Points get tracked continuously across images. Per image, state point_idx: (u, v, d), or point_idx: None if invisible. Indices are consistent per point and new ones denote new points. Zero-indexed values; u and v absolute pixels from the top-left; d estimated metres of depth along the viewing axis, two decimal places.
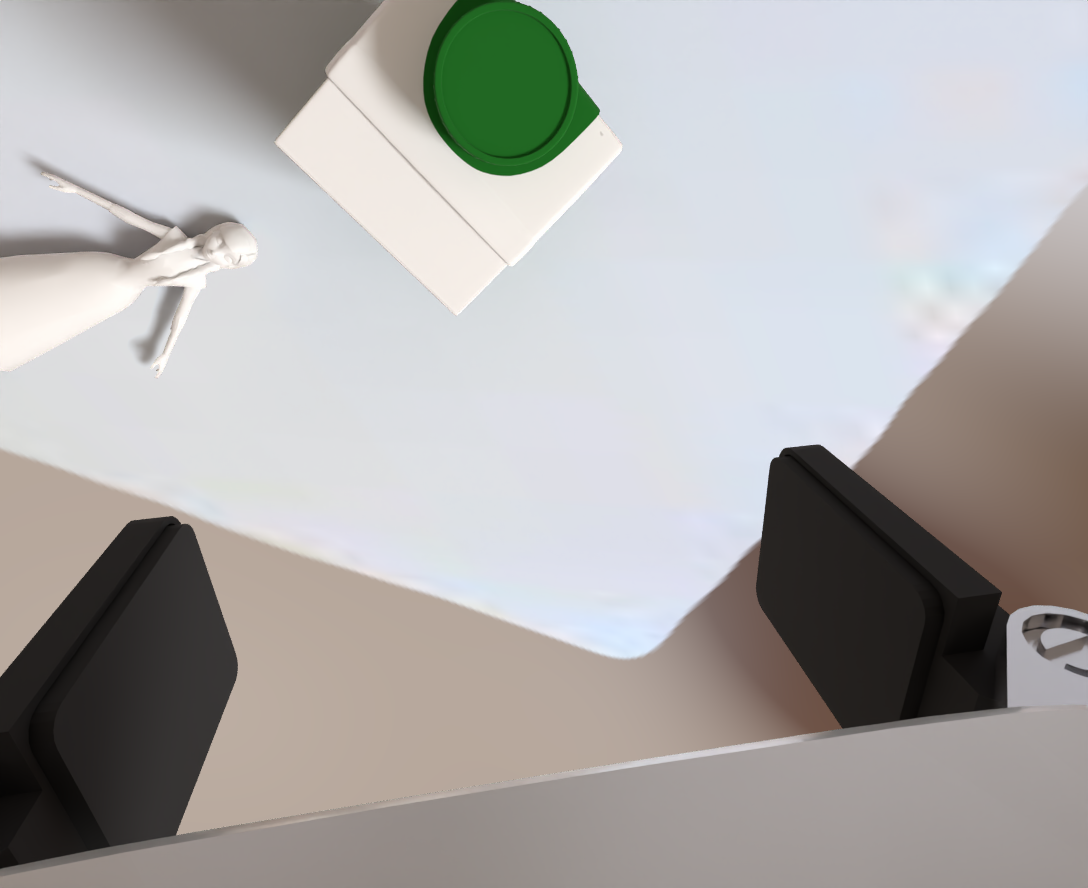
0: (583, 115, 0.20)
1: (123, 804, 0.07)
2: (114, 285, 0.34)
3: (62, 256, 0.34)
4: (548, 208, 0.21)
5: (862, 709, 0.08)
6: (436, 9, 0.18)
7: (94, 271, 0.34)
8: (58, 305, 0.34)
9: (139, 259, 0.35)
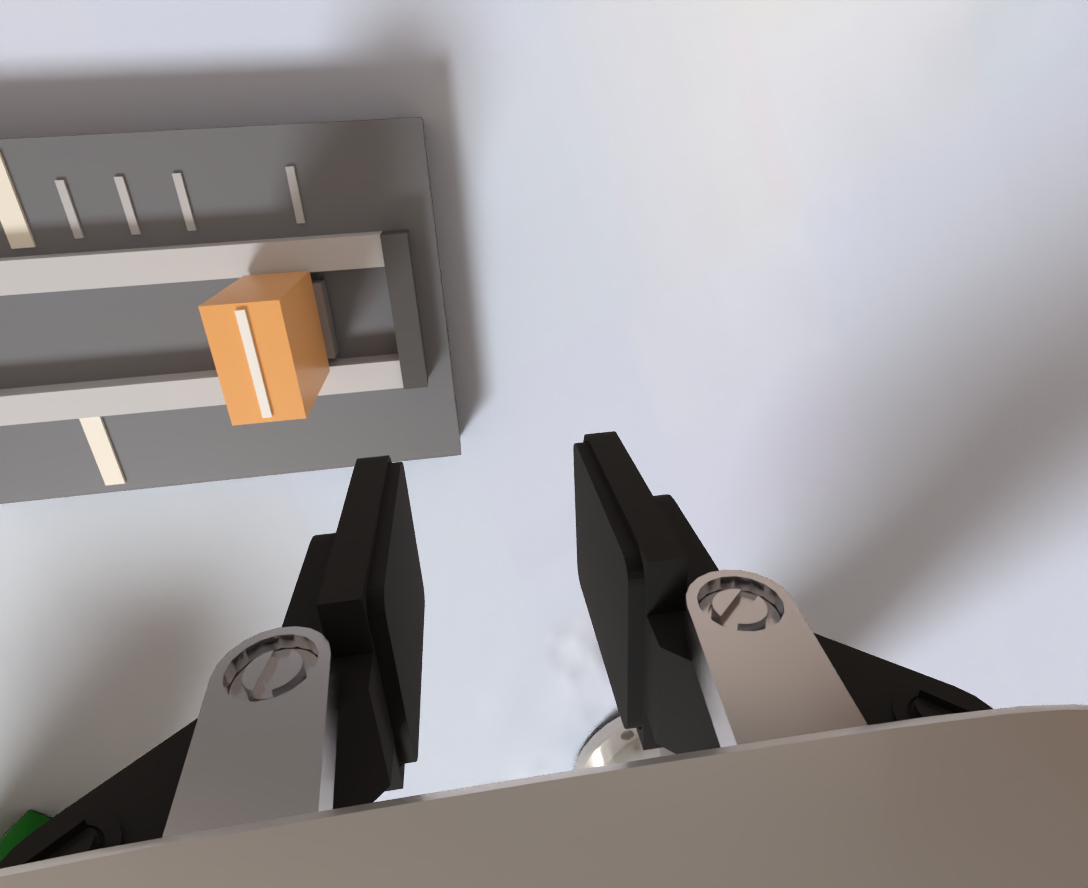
0: None
1: (404, 679, 0.09)
2: None
3: None
4: None
5: (616, 670, 0.09)
6: None
7: None
8: None
9: None
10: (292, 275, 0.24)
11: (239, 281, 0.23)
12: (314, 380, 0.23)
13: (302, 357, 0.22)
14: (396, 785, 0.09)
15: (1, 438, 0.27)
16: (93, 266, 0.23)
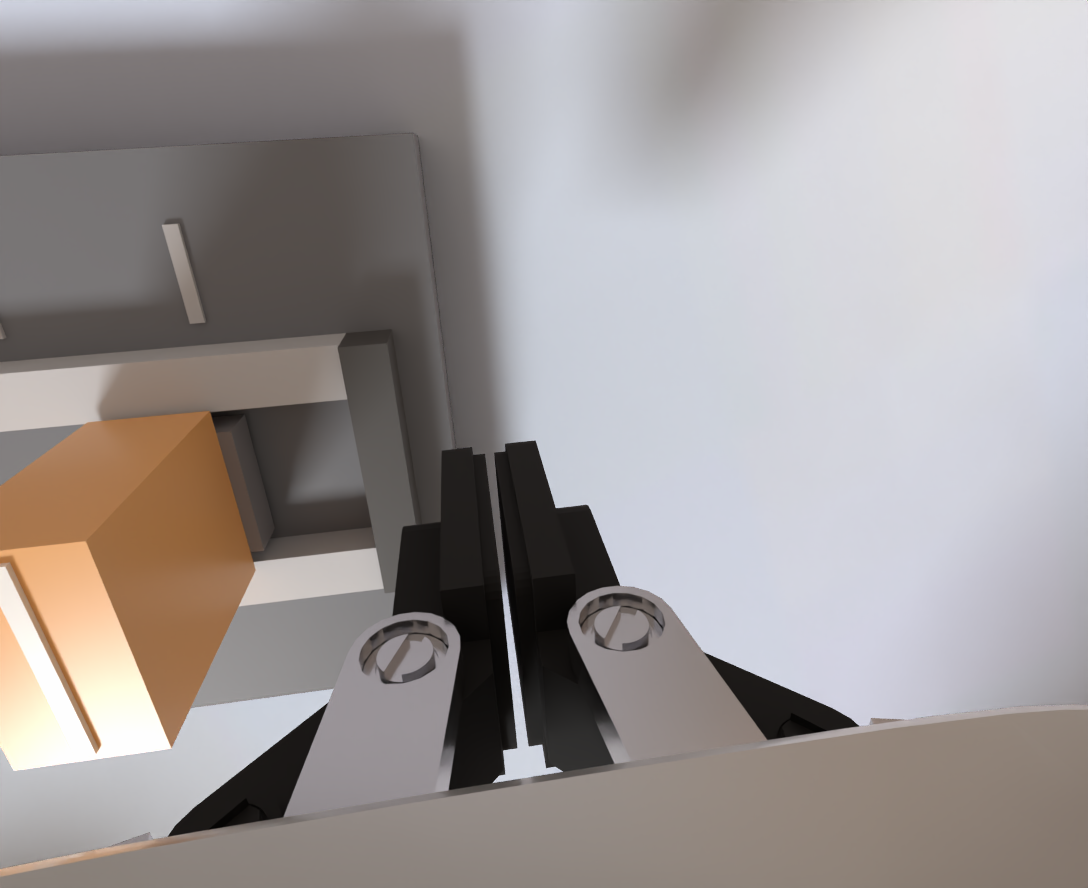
0: None
1: None
2: None
3: None
4: None
5: (522, 685, 0.09)
6: None
7: None
8: None
9: None
10: (170, 428, 0.13)
11: (64, 445, 0.12)
12: (207, 632, 0.12)
13: (169, 613, 0.11)
14: None
15: None
16: None
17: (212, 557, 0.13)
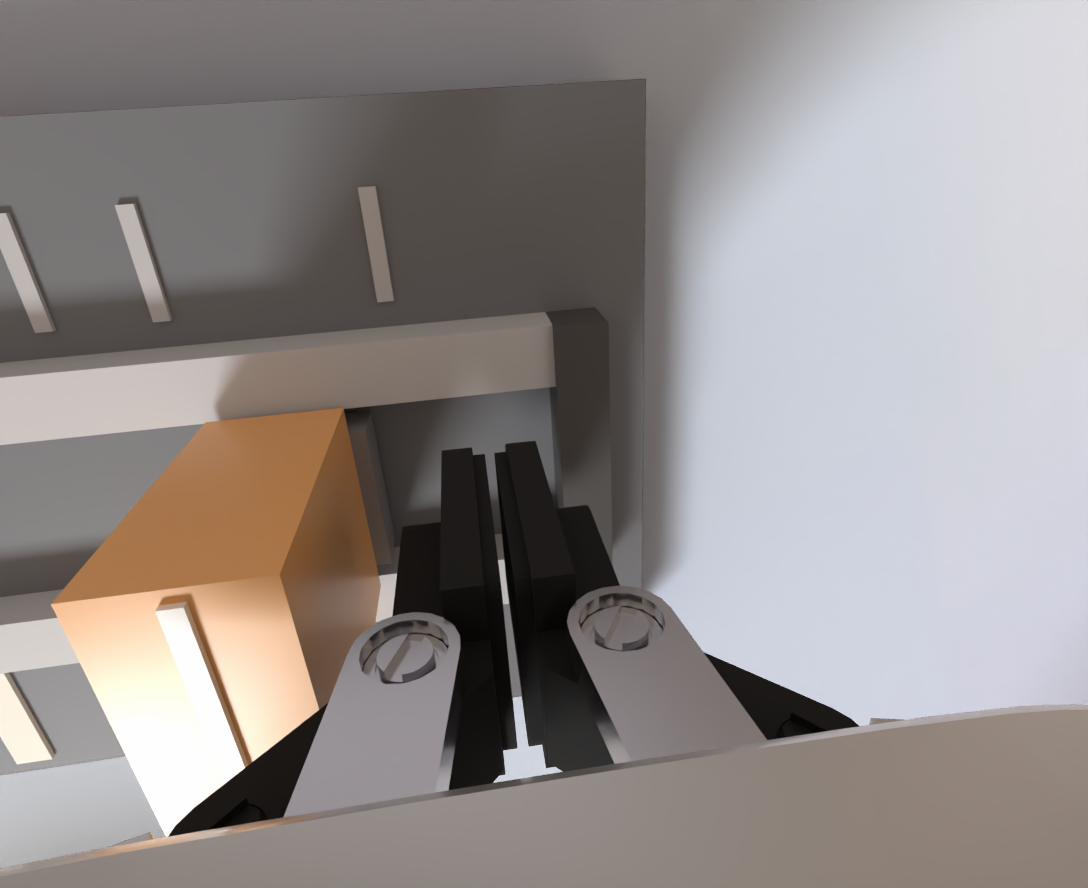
0: None
1: None
2: None
3: None
4: None
5: (522, 685, 0.09)
6: None
7: None
8: None
9: None
10: (308, 428, 0.11)
11: (191, 450, 0.10)
12: None
13: (336, 649, 0.09)
14: None
15: None
16: None
17: (356, 576, 0.11)
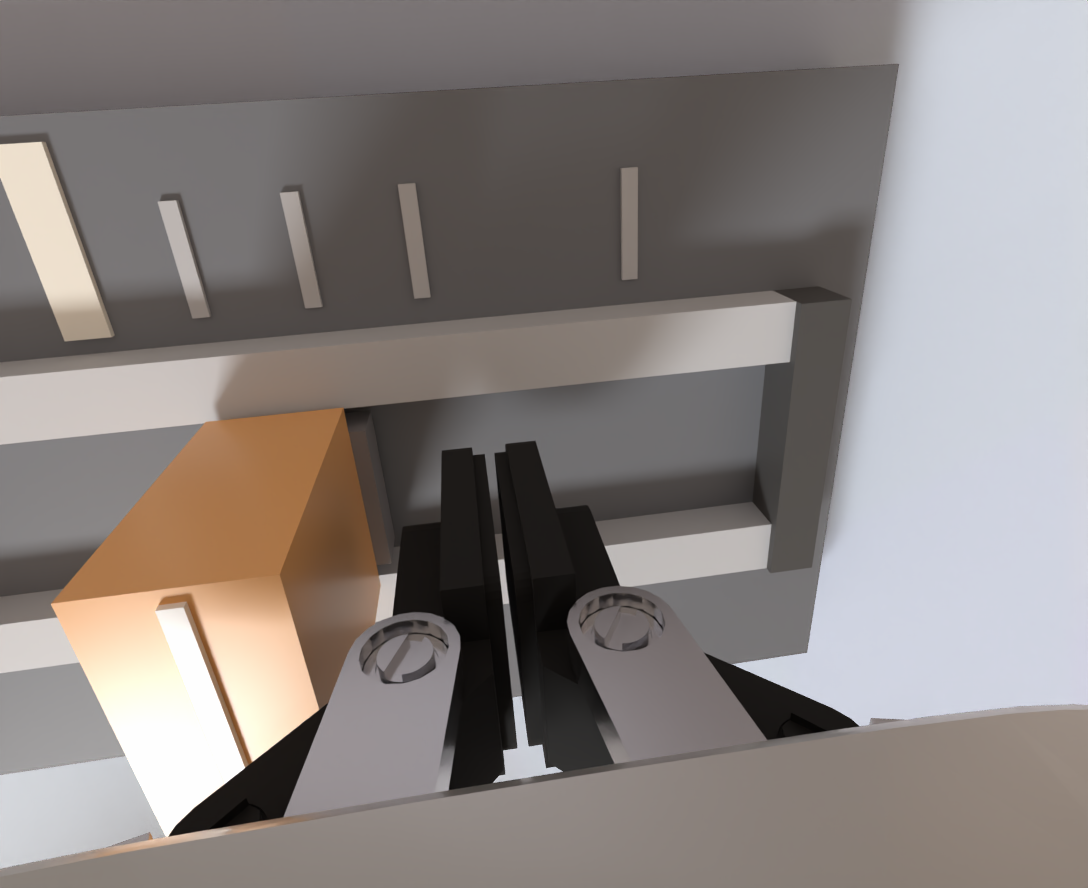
0: None
1: None
2: None
3: None
4: None
5: (522, 685, 0.09)
6: None
7: None
8: None
9: None
10: (308, 428, 0.11)
11: (191, 450, 0.10)
12: None
13: (336, 649, 0.09)
14: None
15: (38, 671, 0.15)
16: (234, 378, 0.11)
17: (356, 576, 0.11)
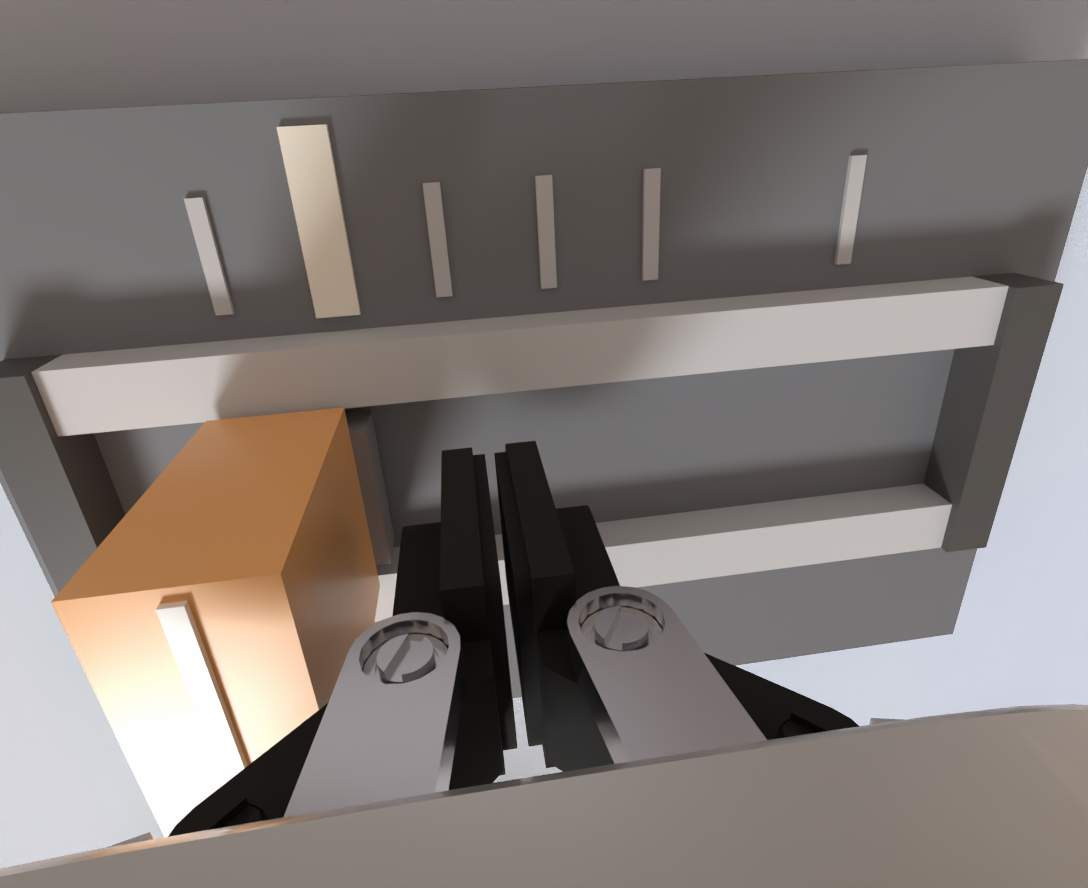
0: None
1: None
2: None
3: None
4: None
5: (522, 685, 0.09)
6: None
7: None
8: None
9: None
10: (309, 428, 0.11)
11: (192, 449, 0.10)
12: None
13: (336, 649, 0.09)
14: None
15: None
16: (483, 354, 0.12)
17: (356, 576, 0.11)
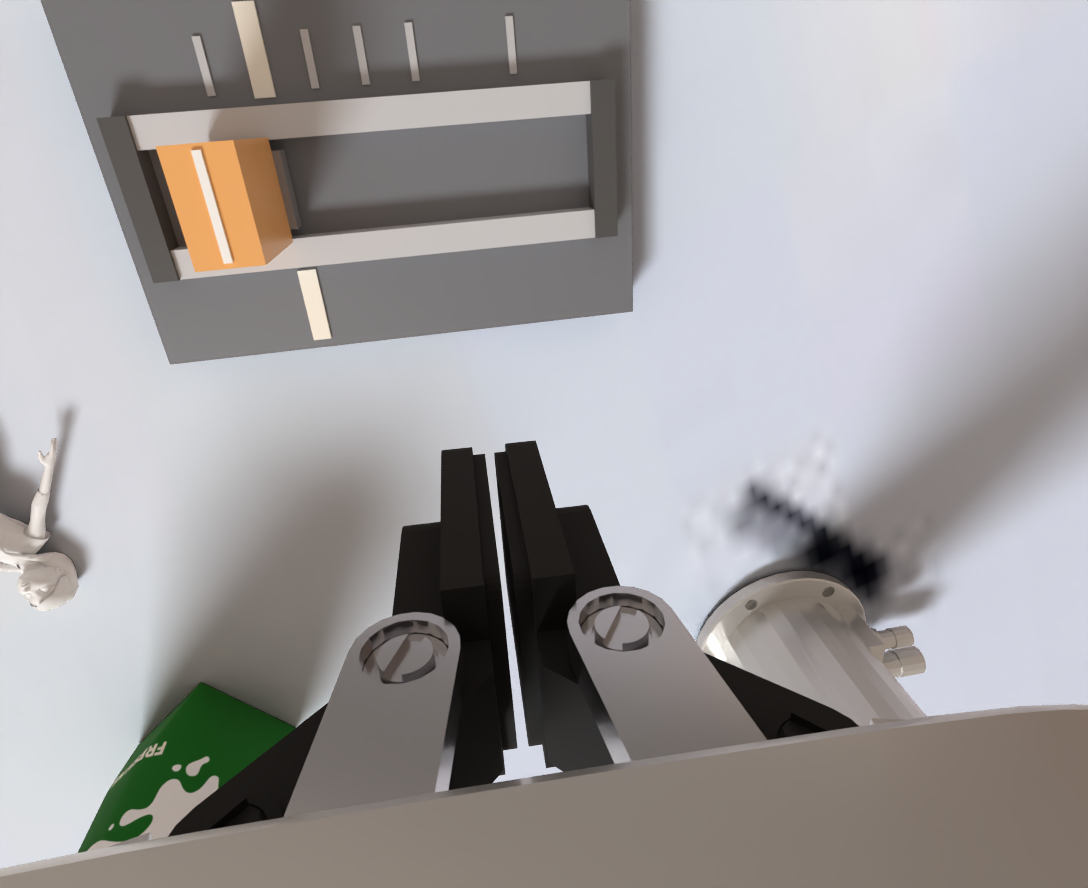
0: None
1: None
2: None
3: None
4: None
5: (522, 685, 0.09)
6: None
7: None
8: None
9: None
10: None
11: None
12: (275, 238, 0.24)
13: (261, 208, 0.23)
14: None
15: (225, 292, 0.29)
16: (333, 112, 0.25)
17: (274, 208, 0.25)
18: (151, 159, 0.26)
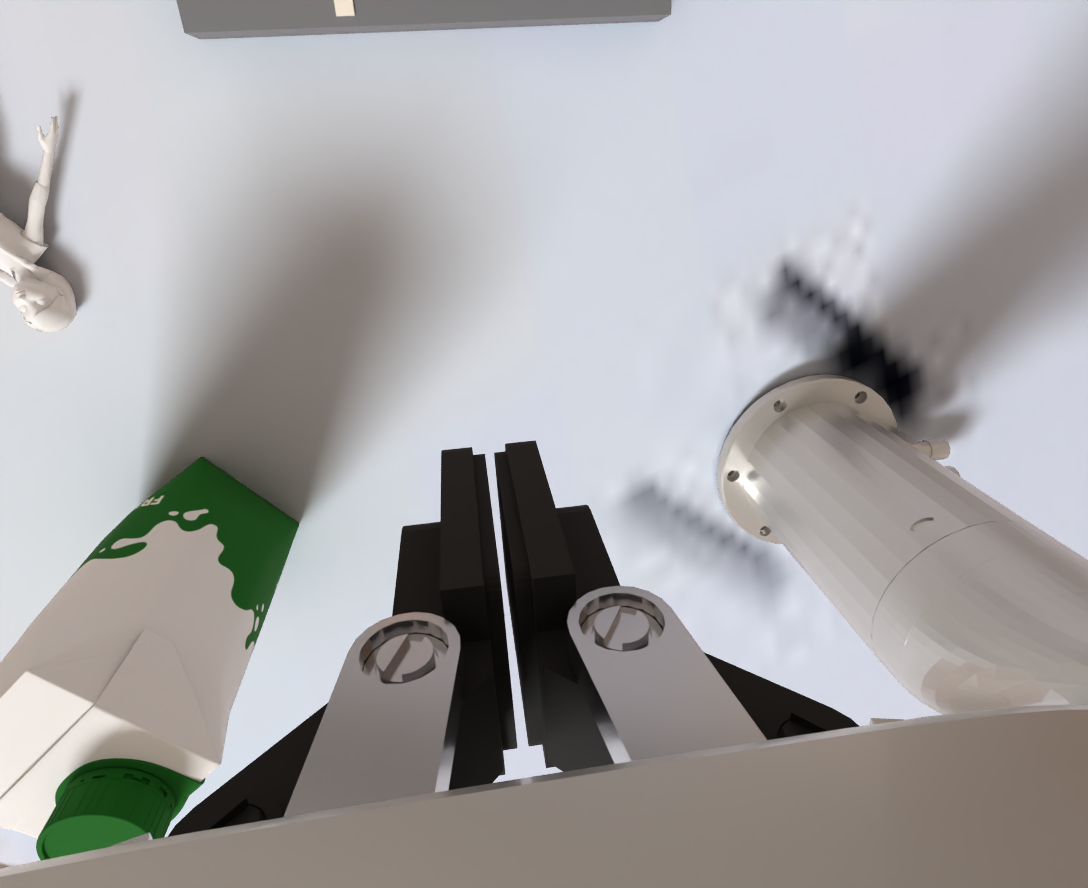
0: None
1: None
2: None
3: None
4: None
5: (522, 685, 0.09)
6: (165, 761, 0.25)
7: None
8: None
9: None
10: None
11: None
12: None
13: None
14: None
15: None
16: None
17: None
18: None
